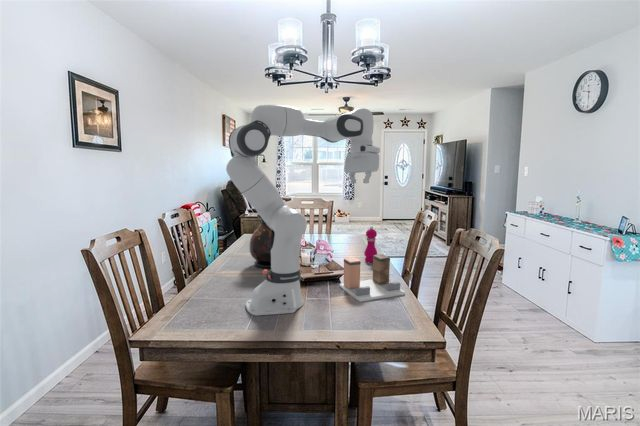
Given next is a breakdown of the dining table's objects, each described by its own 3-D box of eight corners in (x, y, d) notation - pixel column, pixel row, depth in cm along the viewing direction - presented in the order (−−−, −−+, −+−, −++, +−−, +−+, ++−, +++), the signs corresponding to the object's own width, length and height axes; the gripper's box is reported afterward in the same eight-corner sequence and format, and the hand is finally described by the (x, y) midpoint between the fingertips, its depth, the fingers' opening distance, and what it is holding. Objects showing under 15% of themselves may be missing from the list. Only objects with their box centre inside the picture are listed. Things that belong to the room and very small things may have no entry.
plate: (359, 301, 144) (359, 291, 143) (339, 286, 161) (339, 277, 161) (405, 294, 152) (405, 285, 152) (381, 280, 170) (381, 271, 169)
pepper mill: (376, 263, 197) (377, 228, 194) (363, 262, 199) (364, 227, 196) (377, 259, 204) (378, 225, 201) (364, 259, 206) (365, 225, 203)
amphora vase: (297, 266, 190) (296, 215, 186) (259, 274, 178) (258, 218, 174) (278, 257, 208) (277, 210, 203) (243, 263, 196) (242, 213, 191)
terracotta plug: (349, 288, 154) (350, 262, 152) (343, 284, 160) (343, 258, 158) (360, 287, 156) (360, 260, 154) (353, 282, 162) (354, 257, 160)
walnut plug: (379, 284, 160) (380, 258, 158) (372, 280, 165) (373, 255, 164) (389, 283, 162) (390, 257, 160) (381, 278, 167) (382, 254, 166)
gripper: (341, 151, 154) (339, 183, 154) (369, 146, 135) (367, 182, 136) (353, 152, 156) (352, 183, 157) (382, 148, 138) (380, 183, 139)
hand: (359, 183), depth 147 cm, fingers open, 8 cm apart
